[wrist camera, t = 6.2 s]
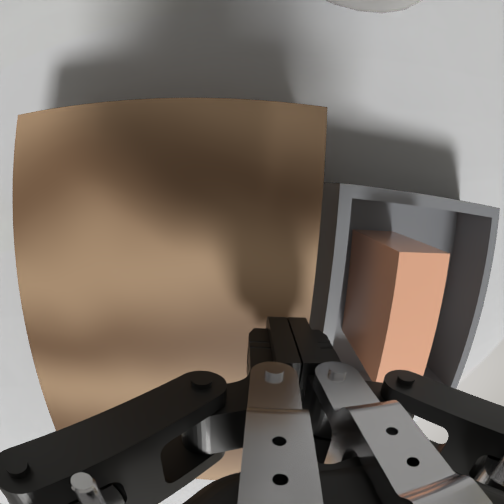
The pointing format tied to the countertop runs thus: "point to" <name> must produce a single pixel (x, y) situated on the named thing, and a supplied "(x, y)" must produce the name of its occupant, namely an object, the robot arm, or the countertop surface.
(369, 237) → the tile
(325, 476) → the robot arm
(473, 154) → the countertop surface
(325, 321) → the bin
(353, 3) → the donut
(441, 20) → the countertop surface
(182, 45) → the countertop surface
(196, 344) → the chopping block
